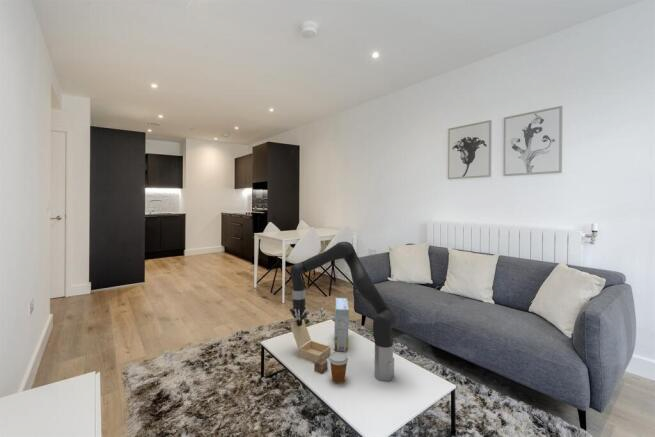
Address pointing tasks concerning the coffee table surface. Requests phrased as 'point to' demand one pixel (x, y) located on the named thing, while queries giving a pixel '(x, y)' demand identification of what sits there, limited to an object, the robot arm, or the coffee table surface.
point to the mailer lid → (300, 333)
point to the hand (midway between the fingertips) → (299, 325)
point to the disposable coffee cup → (338, 366)
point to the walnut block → (320, 365)
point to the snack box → (341, 324)
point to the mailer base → (314, 351)
